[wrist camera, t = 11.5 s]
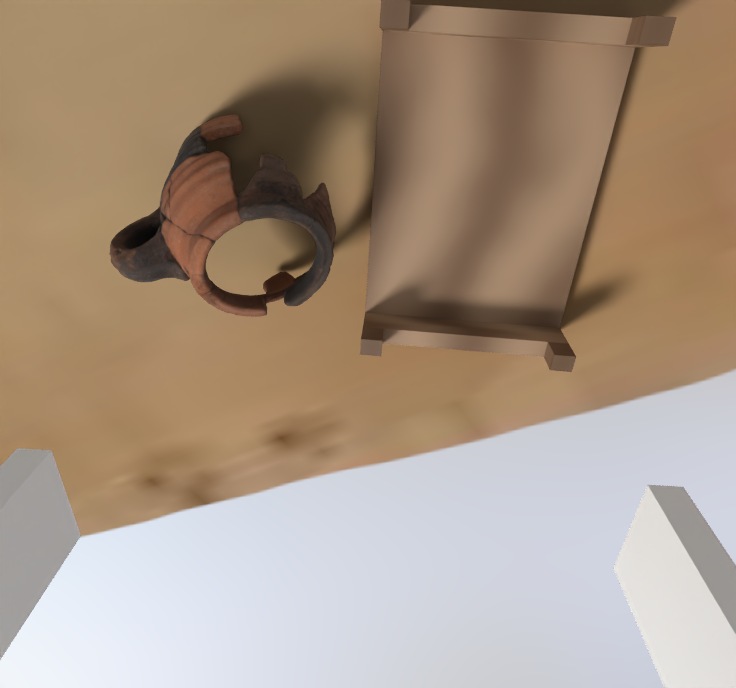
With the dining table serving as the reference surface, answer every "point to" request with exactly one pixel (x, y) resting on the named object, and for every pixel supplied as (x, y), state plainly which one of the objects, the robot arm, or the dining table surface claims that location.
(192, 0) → the dining table surface
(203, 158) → the pottery mug
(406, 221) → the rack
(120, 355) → the dining table surface
